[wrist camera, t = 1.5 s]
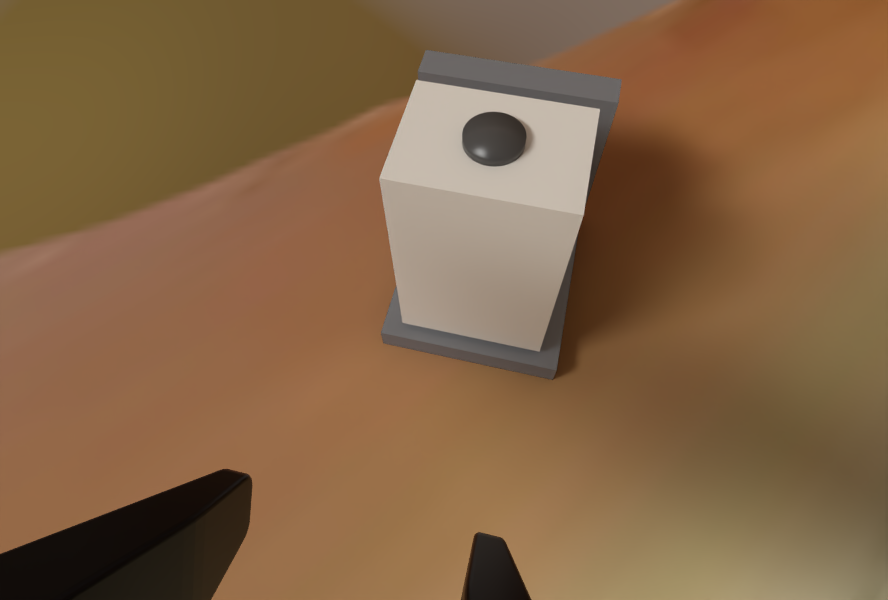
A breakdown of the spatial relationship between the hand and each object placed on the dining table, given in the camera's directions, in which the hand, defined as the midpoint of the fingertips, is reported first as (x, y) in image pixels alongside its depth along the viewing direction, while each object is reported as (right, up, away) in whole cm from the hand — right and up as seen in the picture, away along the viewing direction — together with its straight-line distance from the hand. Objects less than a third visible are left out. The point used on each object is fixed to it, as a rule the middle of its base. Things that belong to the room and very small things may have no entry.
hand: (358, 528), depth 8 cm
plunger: (+3, +4, +16) cm, 16 cm away
